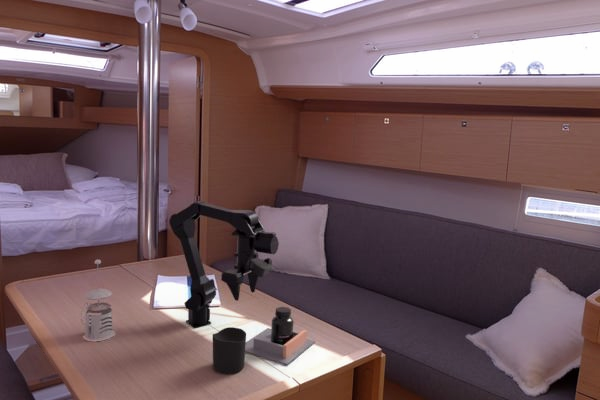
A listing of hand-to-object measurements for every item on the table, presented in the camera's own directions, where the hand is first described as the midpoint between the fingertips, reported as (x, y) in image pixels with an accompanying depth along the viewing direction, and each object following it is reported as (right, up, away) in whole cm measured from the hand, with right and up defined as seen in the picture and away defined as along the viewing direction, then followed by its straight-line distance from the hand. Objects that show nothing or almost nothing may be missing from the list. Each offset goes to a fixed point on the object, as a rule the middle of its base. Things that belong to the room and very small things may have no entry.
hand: (244, 296), depth 157 cm
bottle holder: (+11, -15, -6) cm, 19 cm away
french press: (-46, -12, -5) cm, 48 cm away
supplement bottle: (+12, -14, -7) cm, 20 cm away
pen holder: (-2, -16, -20) cm, 26 cm away
